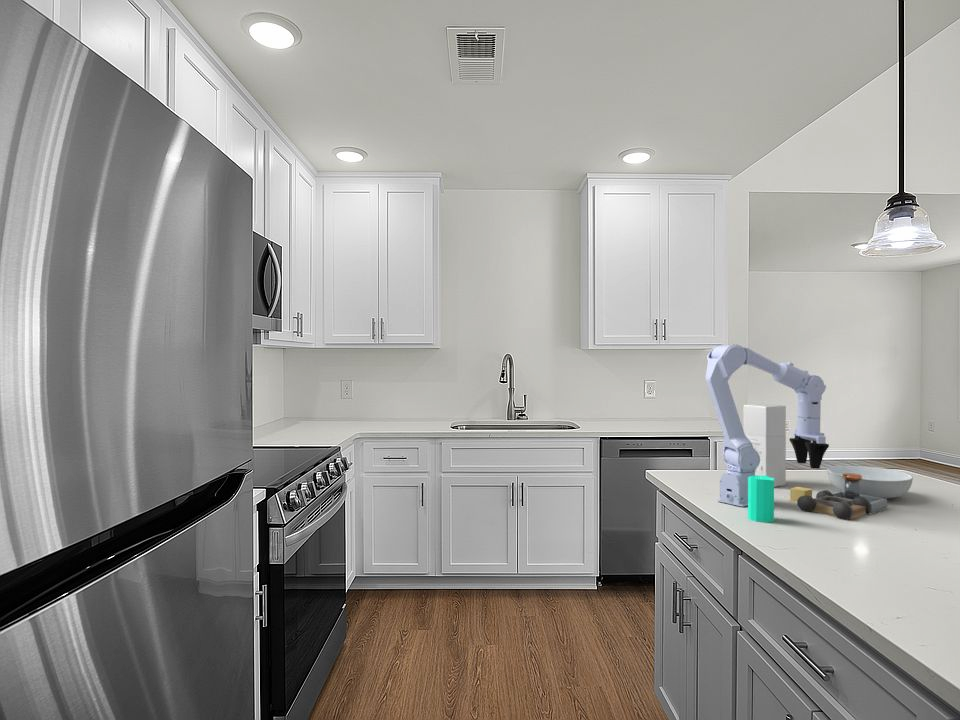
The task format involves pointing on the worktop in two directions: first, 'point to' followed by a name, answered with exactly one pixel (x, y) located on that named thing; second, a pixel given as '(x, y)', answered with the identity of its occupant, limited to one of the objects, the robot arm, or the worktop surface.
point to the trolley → (834, 505)
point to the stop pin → (852, 485)
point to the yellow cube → (799, 493)
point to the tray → (875, 502)
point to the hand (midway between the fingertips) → (808, 465)
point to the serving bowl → (873, 480)
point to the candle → (761, 498)
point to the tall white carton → (767, 438)
